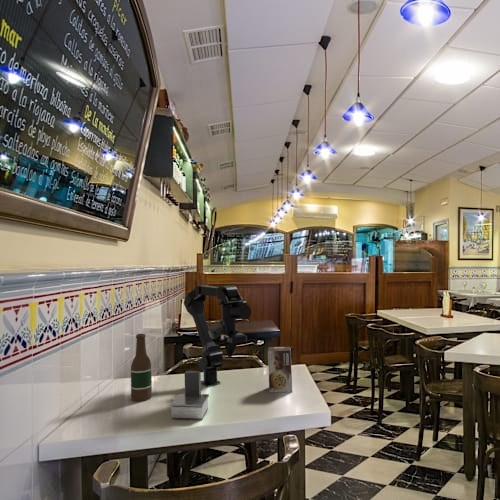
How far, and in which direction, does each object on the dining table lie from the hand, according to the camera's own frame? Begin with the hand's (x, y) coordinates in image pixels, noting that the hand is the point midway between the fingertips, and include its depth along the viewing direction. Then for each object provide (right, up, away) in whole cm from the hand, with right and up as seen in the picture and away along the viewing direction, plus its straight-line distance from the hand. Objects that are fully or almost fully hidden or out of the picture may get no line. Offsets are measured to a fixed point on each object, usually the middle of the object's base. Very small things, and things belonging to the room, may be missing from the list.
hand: (229, 357), depth 147 cm
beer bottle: (-33, -14, -7) cm, 36 cm away
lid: (-12, -8, -23) cm, 27 cm away
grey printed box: (+20, -13, -1) cm, 24 cm away
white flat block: (-12, -12, -23) cm, 29 cm away
